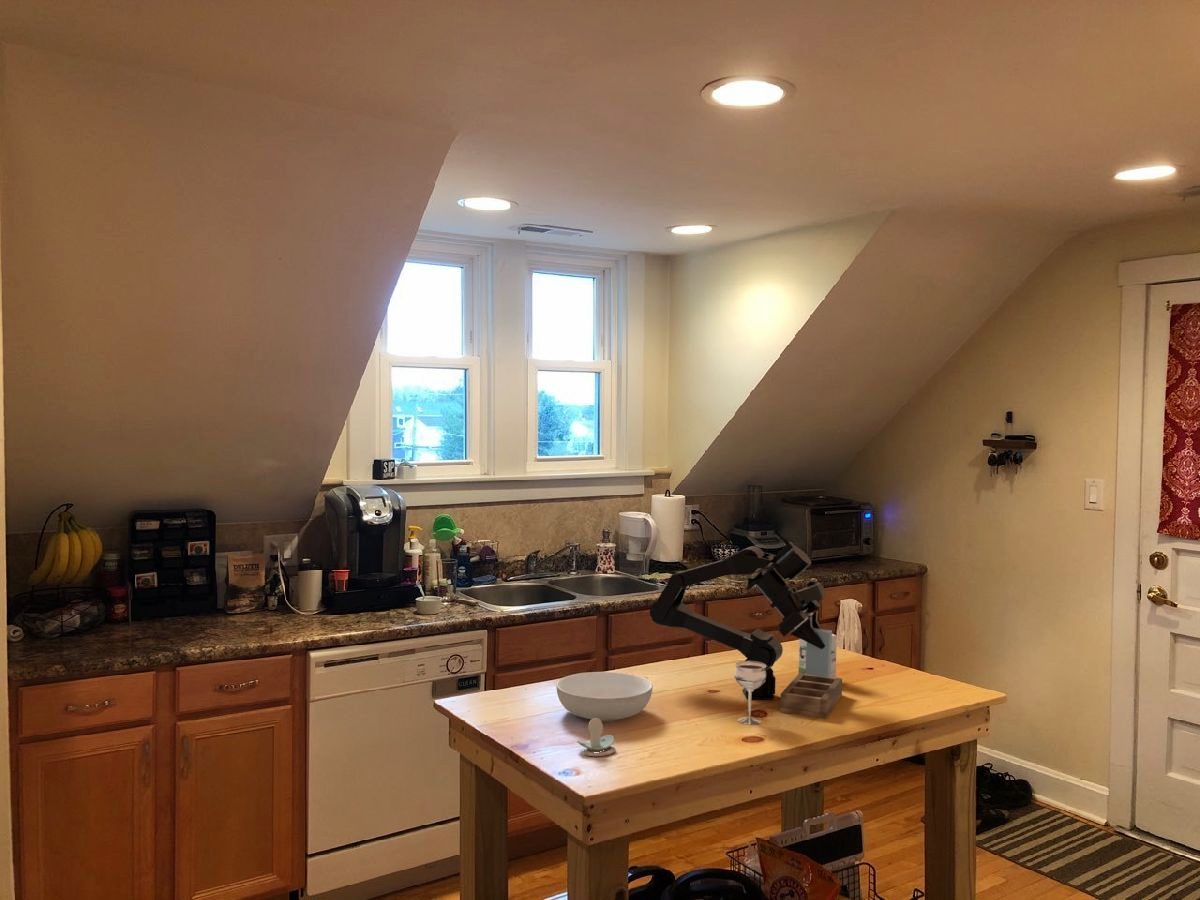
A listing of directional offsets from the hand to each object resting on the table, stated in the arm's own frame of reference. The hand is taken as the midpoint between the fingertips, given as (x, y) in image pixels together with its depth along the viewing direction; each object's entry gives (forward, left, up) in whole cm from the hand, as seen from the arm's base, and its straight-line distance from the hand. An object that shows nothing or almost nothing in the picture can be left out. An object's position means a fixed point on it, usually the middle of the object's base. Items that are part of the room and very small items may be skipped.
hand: (825, 646), depth 209 cm
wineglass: (-19, -12, -14) cm, 26 cm away
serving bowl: (-50, -9, -14) cm, 52 cm away
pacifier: (-51, -31, -14) cm, 61 cm away
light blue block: (-1, +1, -7) cm, 7 cm away
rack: (-2, +1, -13) cm, 14 cm away
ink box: (+3, +20, -14) cm, 25 cm away
